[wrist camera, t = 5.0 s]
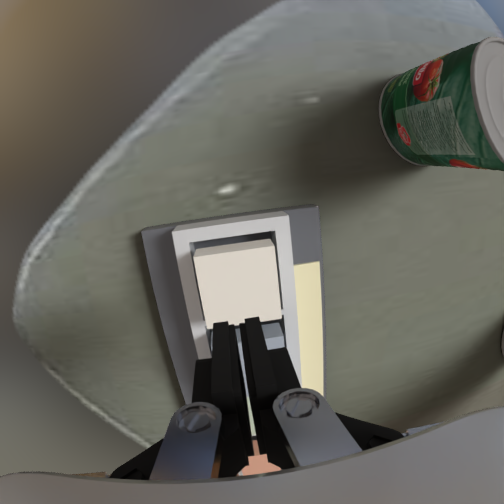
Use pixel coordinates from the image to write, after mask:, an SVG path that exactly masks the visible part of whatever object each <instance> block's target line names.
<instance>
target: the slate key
mask: <svg viewBox="0 0 504 504" xmlns="http://www.w3.org/2000/svg"><path fill="white" fill-rule="evenodd" d="M261 326H262V330H263V333H264V337H265V341H266V345H267V349H268V350H270V349H276V348H282V347H285V346H284V336H283V333H282V330H281V327H280V324H279V322H278V323H272V324H266V325H261ZM235 330H236V336H237V342H238V348H239V354H240V359H241V365H242V371H243V376H244V382H245V388H246V396H247V397H249V394H248V388H247V381H246V374H245V366H244V359H243V351H242V343H241V335H240V328H239V329H235ZM212 338H213V332H212V335H211V349H212Z"/></svg>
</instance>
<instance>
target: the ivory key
mask: <svg viewBox="0 0 504 504" xmlns="http://www.w3.org/2000/svg"><path fill="white" fill-rule="evenodd" d="M193 258H194V264H195V269H196V275H197V280H198V286H199V291H200V296H201V301H202V306H203V311H204V316H205V321H206V326H207V329H213V323H217V322H225V321H228V323H229V325H231V324H234V325H235V326H236V325H239V323H245V320H244V319H246V318H252V317H259V318H260V322H263V321H270V320H276V319H282V314H281V303H280V293H279V283H278V274H277V264H276V255H275V246H274V244H273V243H272V241H271V239H263V240H256V241H249V242H242V243H235V244H228V245H221V246H214V247H207V248H200V249H196V251H195V254H194V257H193Z"/></svg>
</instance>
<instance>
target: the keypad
mask: <svg viewBox="0 0 504 504" xmlns="http://www.w3.org/2000/svg"><path fill="white" fill-rule="evenodd" d="M141 233H142V238H143V243H144V248H145V253H146V258H147V263H148V267H149V272H150V276H151V281H152V285H153V290H154V294H155V298H156V302H157V306H158V310H159V314H160V318H161V322H162V326H163V329H164V333H165V337H166V340H167V344H168V348H169V351H170V355H171V358H172V361H173V365H174V368H175V371H176V375H177V378H178V381H179V384H180V387H181V391H182V394H183V397H184V400H185V403H186V405H187V404H190V403H192V393H193V382H194V372H195V363H196V360H198V359H206V358H212V349H211V335H212V332H213V329H207V326H206V321H205V316H204V311H203V306H202V301H201V296H200V291H199V286H198V280H197V275H196V269H195V264H194V258H193V257H194V254H195V251H196V249H200V248H207V247H214V246H221V245H228V244H235V243H242V242H249V241H256V240H263V239H271V241H272V243H273V244H274V246H275V255H276V264H277V274H278V283H279V293H280V303H281V314H282V319H276V320H270V321H263V322H261V325H266V324H272V323H278V322H279V324H280V327H281V330H282V333H283V336H284V346H285V347H287V350H288V352H289V355H290V358H291V361H292V363H293V366H294V369H295V372H296V374H297V377H298V380H299V383H300V385H301V388H308V389H313V390H315V391H317V392H319V393H320V394H321V395H322V396H323V397H324V398H325V400H326V324H325V295H324V274H323V257H322V241H321V228H320V215H319V206H317V205H314V204H308V205H300V206H291V207H283V208H275V209H267V210H260V211H252V212H245V213H237V214H230V215H223V216H216V217H209V218H202V219H196V220H189V221H182V222H176V223H170V224H163V225H157V226H151V227H146V228H145V229H144V230H142V231H141ZM239 328H240V327H239V325H236V326H235V329H239ZM253 440H257V438H256V435H252V441H253ZM238 474H239V475H243V473H242V470H241V471H240V472H239V473H238Z"/></svg>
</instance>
